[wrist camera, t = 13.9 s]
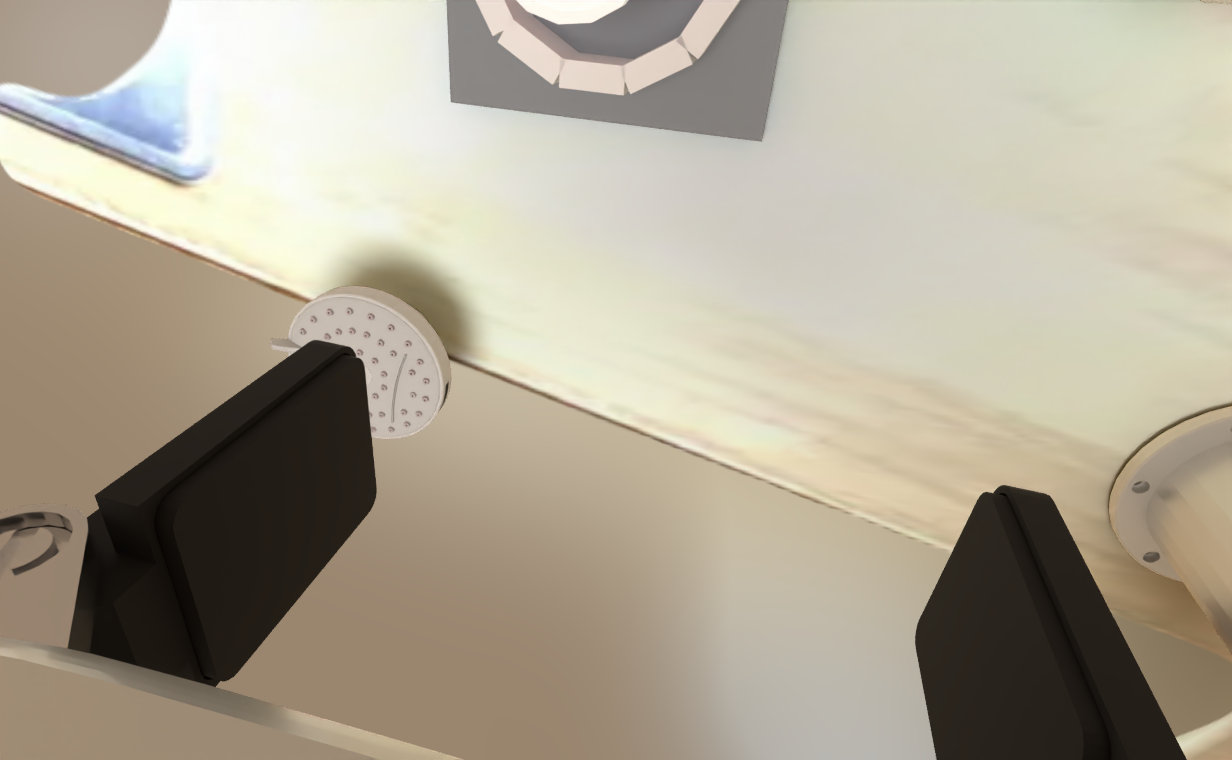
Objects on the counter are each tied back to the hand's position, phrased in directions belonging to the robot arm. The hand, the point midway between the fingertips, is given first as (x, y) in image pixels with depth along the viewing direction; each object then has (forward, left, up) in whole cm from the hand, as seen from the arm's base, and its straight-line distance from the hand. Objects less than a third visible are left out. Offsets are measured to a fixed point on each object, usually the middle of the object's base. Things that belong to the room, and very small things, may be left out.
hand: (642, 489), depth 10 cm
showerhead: (+18, +14, -29) cm, 37 cm away
